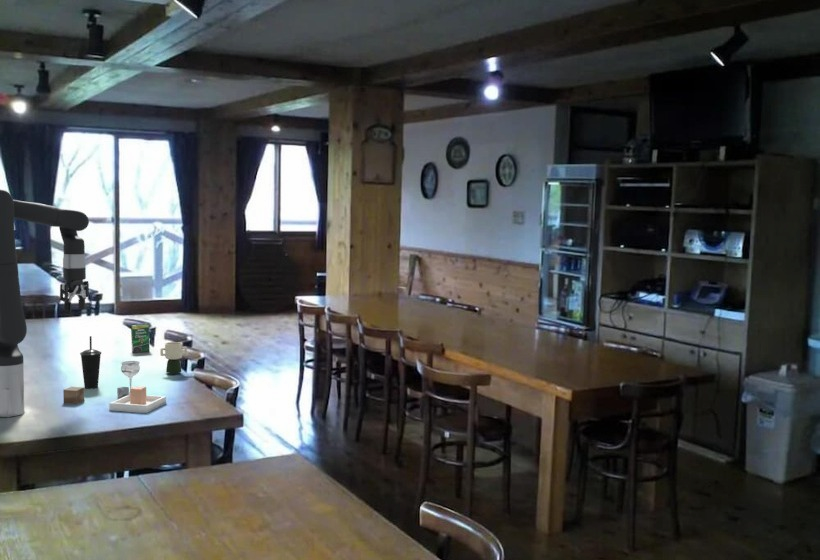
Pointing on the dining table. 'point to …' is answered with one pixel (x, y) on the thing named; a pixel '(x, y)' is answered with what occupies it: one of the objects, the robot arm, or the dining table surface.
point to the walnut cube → (73, 395)
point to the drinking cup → (90, 366)
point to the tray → (125, 405)
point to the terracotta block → (138, 395)
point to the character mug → (173, 356)
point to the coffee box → (140, 338)
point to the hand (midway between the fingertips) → (75, 310)
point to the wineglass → (130, 369)
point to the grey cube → (122, 392)
